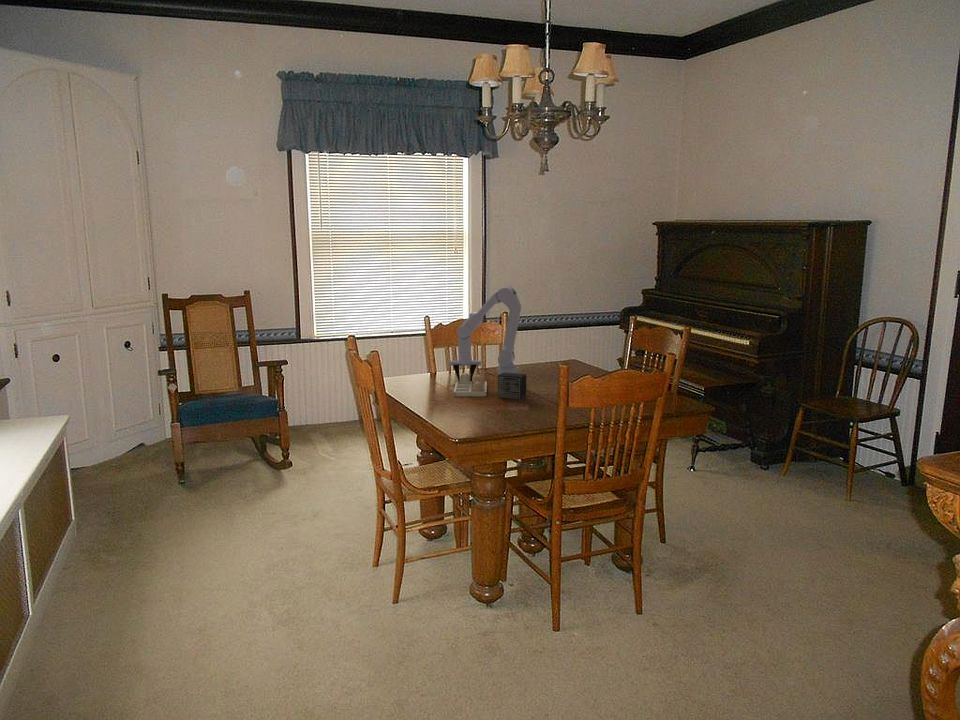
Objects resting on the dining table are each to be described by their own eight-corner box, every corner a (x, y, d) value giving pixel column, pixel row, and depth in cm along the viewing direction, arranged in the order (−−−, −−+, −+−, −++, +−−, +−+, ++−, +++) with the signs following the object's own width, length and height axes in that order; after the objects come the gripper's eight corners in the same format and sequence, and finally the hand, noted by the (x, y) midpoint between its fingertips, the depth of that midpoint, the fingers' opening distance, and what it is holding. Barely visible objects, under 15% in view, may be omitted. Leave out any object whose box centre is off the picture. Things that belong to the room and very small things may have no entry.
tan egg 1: (483, 385, 315) (483, 374, 314) (483, 388, 311) (483, 376, 310) (473, 386, 315) (473, 374, 314) (473, 388, 311) (473, 376, 310)
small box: (527, 398, 297) (527, 373, 295) (521, 402, 291) (521, 376, 289) (503, 396, 301) (503, 371, 299) (497, 399, 295) (497, 374, 293)
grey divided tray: (486, 387, 316) (486, 381, 316) (486, 398, 297) (486, 391, 296) (456, 387, 317) (455, 381, 316) (453, 398, 297) (453, 392, 297)
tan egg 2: (483, 392, 302) (482, 380, 301) (482, 395, 298) (482, 382, 297) (473, 393, 302) (472, 380, 301) (472, 395, 298) (472, 382, 297)
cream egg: (470, 383, 325) (469, 372, 324) (469, 385, 320) (469, 373, 319) (460, 383, 325) (460, 372, 324) (460, 385, 320) (460, 374, 319)
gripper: (481, 349, 323) (481, 379, 326) (449, 350, 324) (449, 379, 326) (480, 352, 316) (481, 382, 319) (448, 352, 317) (448, 382, 319)
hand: (465, 381), depth 322 cm, fingers open, 5 cm apart
